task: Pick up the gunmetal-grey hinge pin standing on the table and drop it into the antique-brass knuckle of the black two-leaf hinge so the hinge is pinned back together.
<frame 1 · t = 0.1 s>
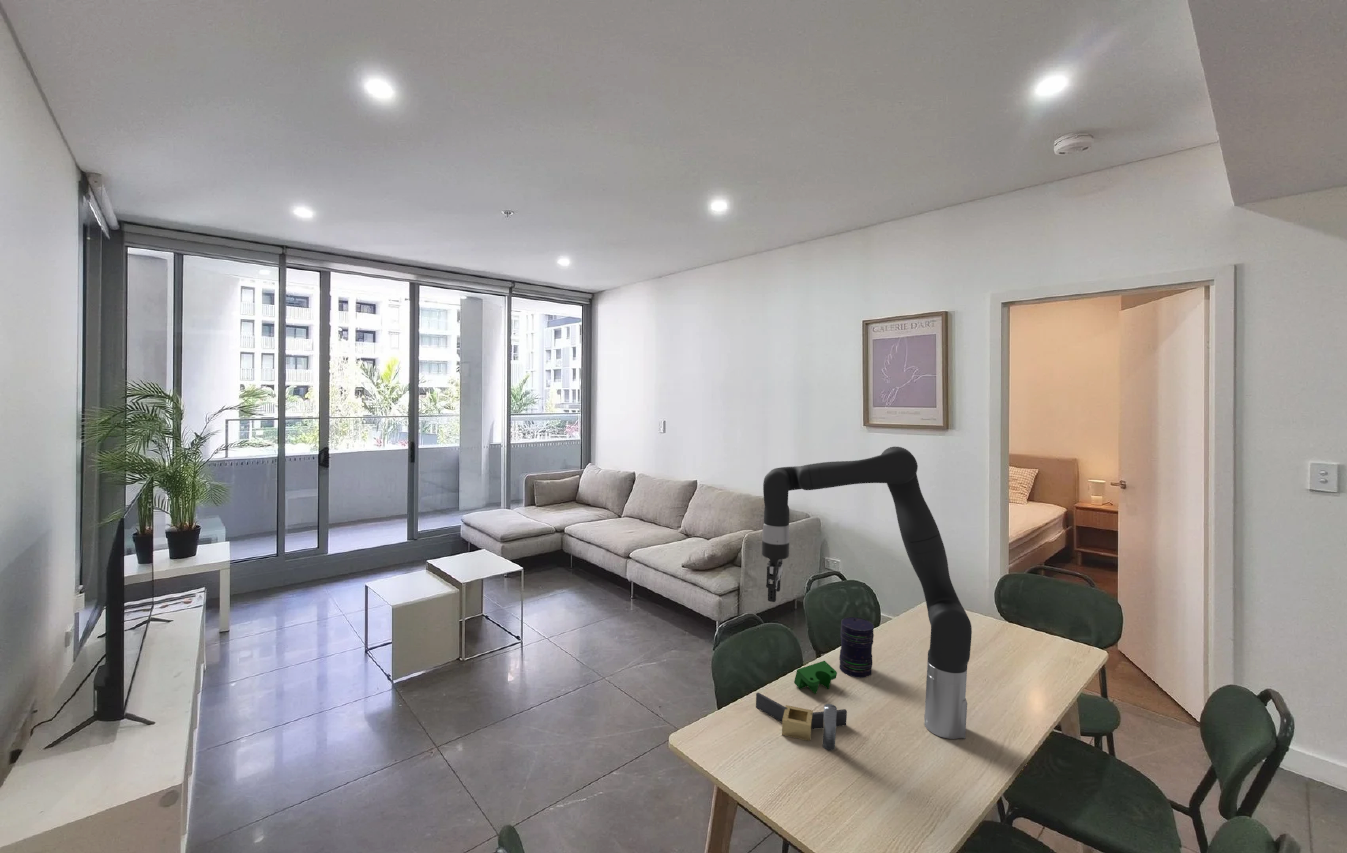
hand: (774, 595, 156), 29 cm above the table, fingers open, 8 cm apart
storage jar: (855, 670, 173), on the table
clamp: (815, 688, 162), on the table
hinge: (797, 729, 142), on the table
hinge pin: (828, 746, 135), on the table
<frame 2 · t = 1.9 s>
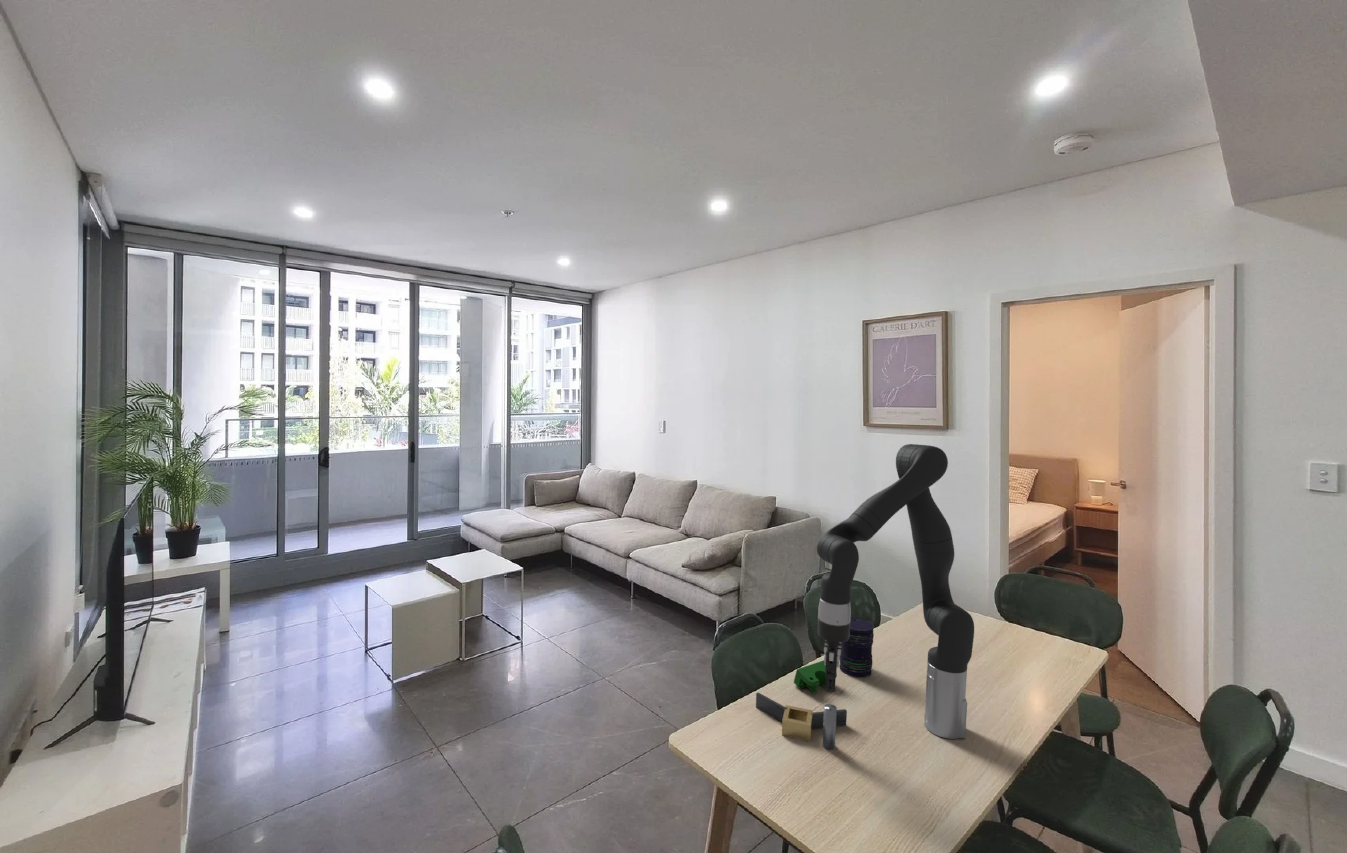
hand: (830, 682, 134), 16 cm above the table, fingers open, 8 cm apart
nothing on the table moved.
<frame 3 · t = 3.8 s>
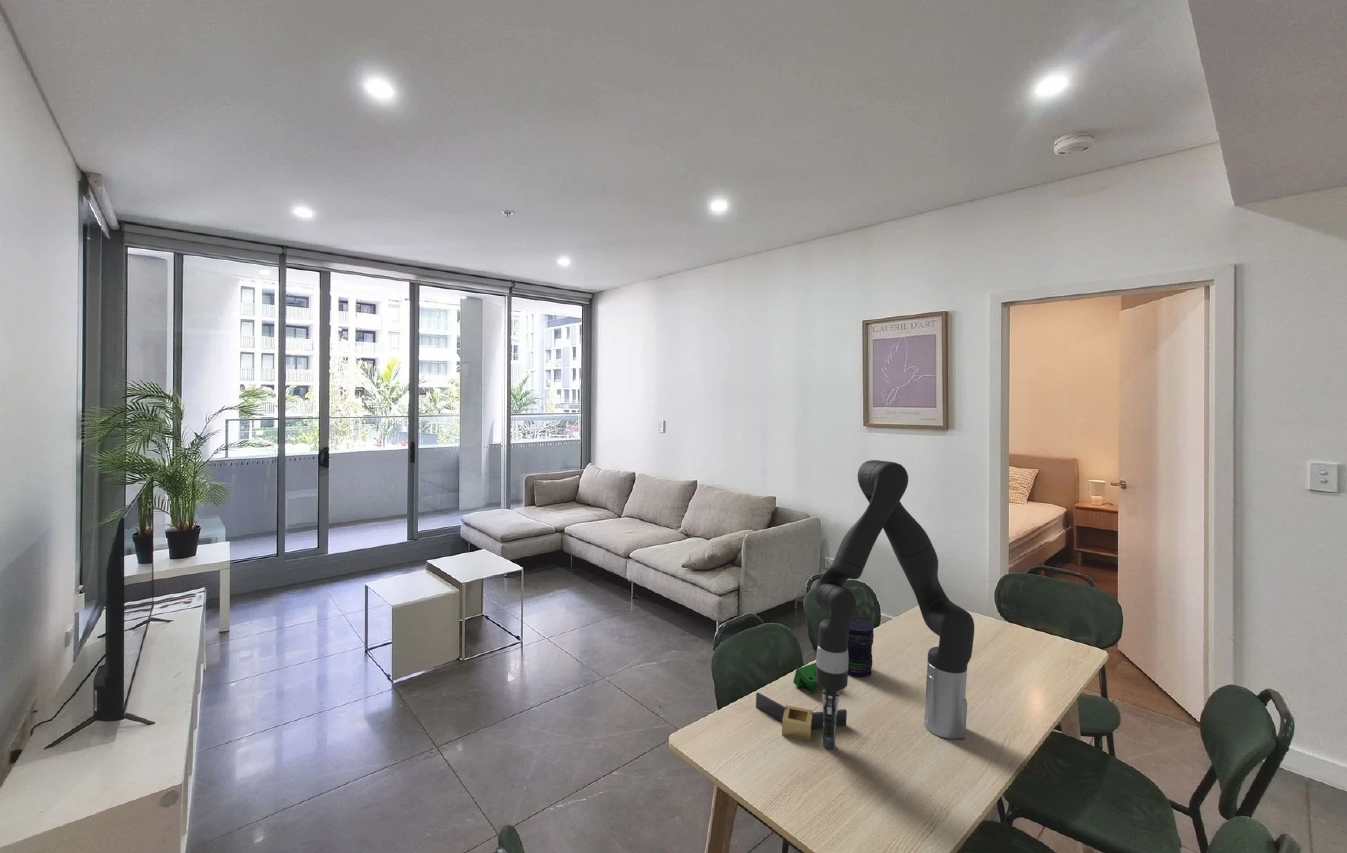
hand: (829, 732, 135), 4 cm above the table, fingers closed on hinge pin, 3 cm apart
hinge pin: (828, 746, 135), on the table, touching gripper
everything else where it was.
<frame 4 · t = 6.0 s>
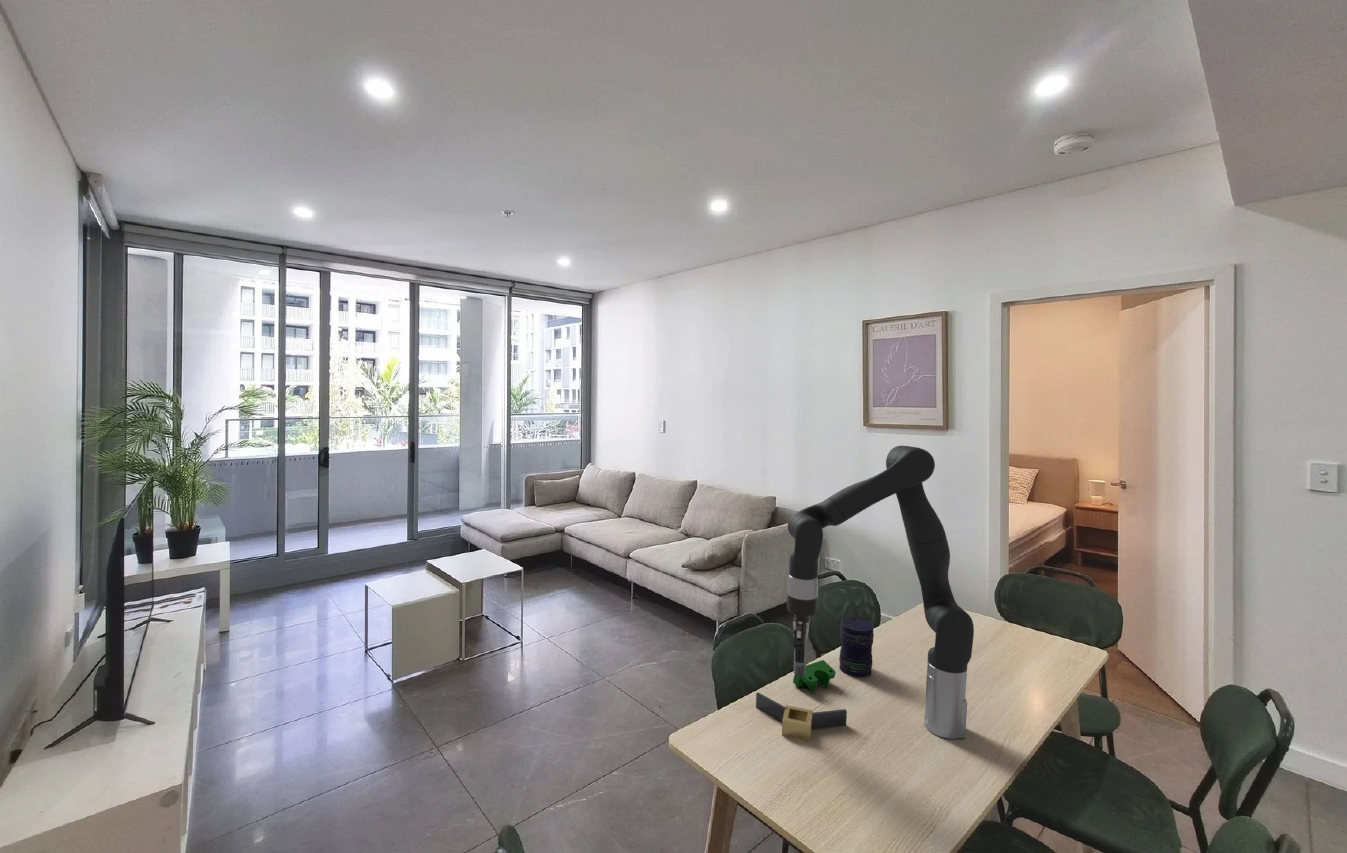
hand: (800, 658, 140), 19 cm above the table, fingers closed on hinge pin, 3 cm apart
hinge pin: (799, 672, 141), point 15 cm above the table, touching gripper
everything else where it was.
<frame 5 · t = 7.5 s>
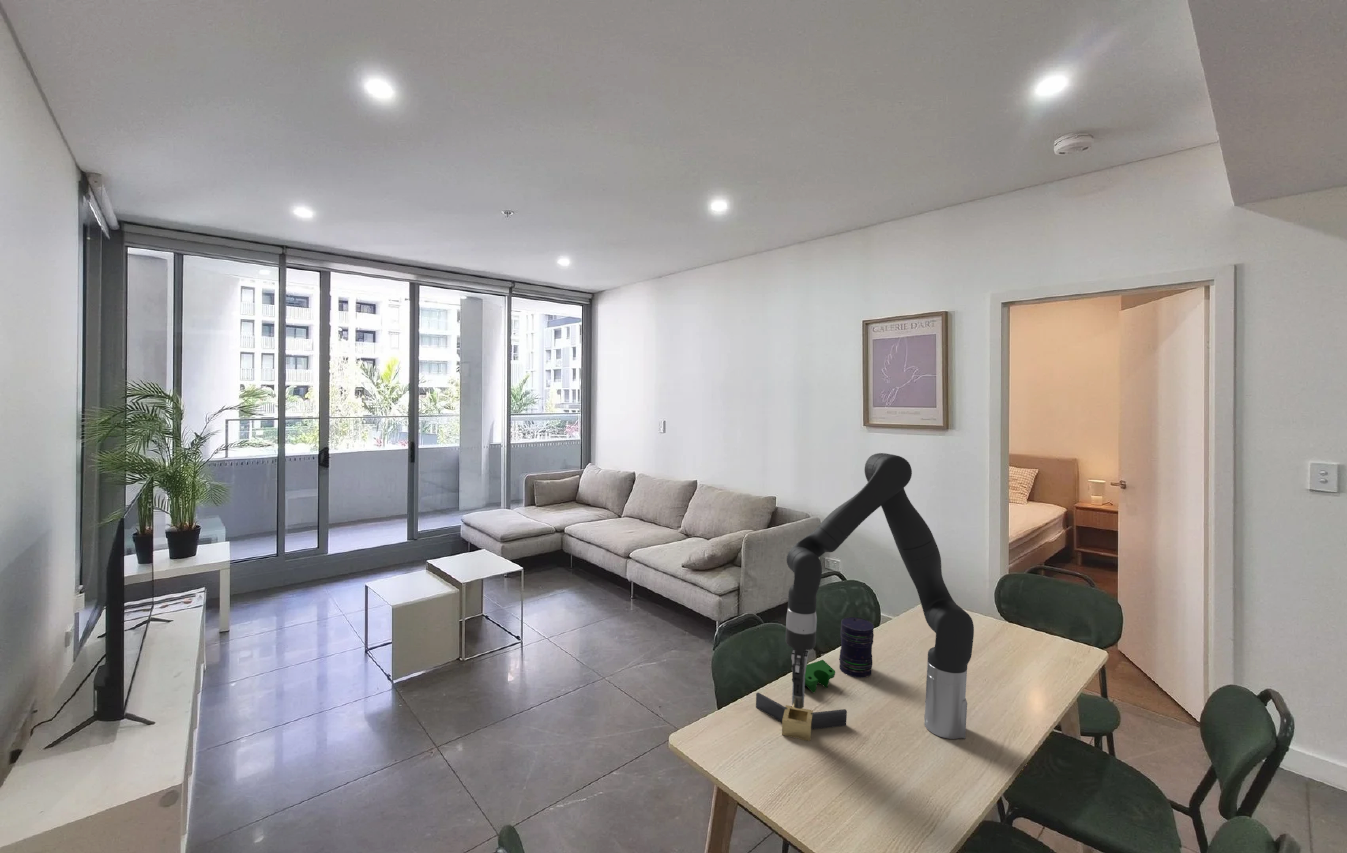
hand: (798, 691, 141), 10 cm above the table, fingers closed on hinge pin, 3 cm apart
hinge pin: (797, 705, 141), point 7 cm above the table, touching gripper
everything else where it was.
when the fingers open (6 cm above the table, at t = 8.7 s): hinge pin drops 2 cm, resting in hinge.
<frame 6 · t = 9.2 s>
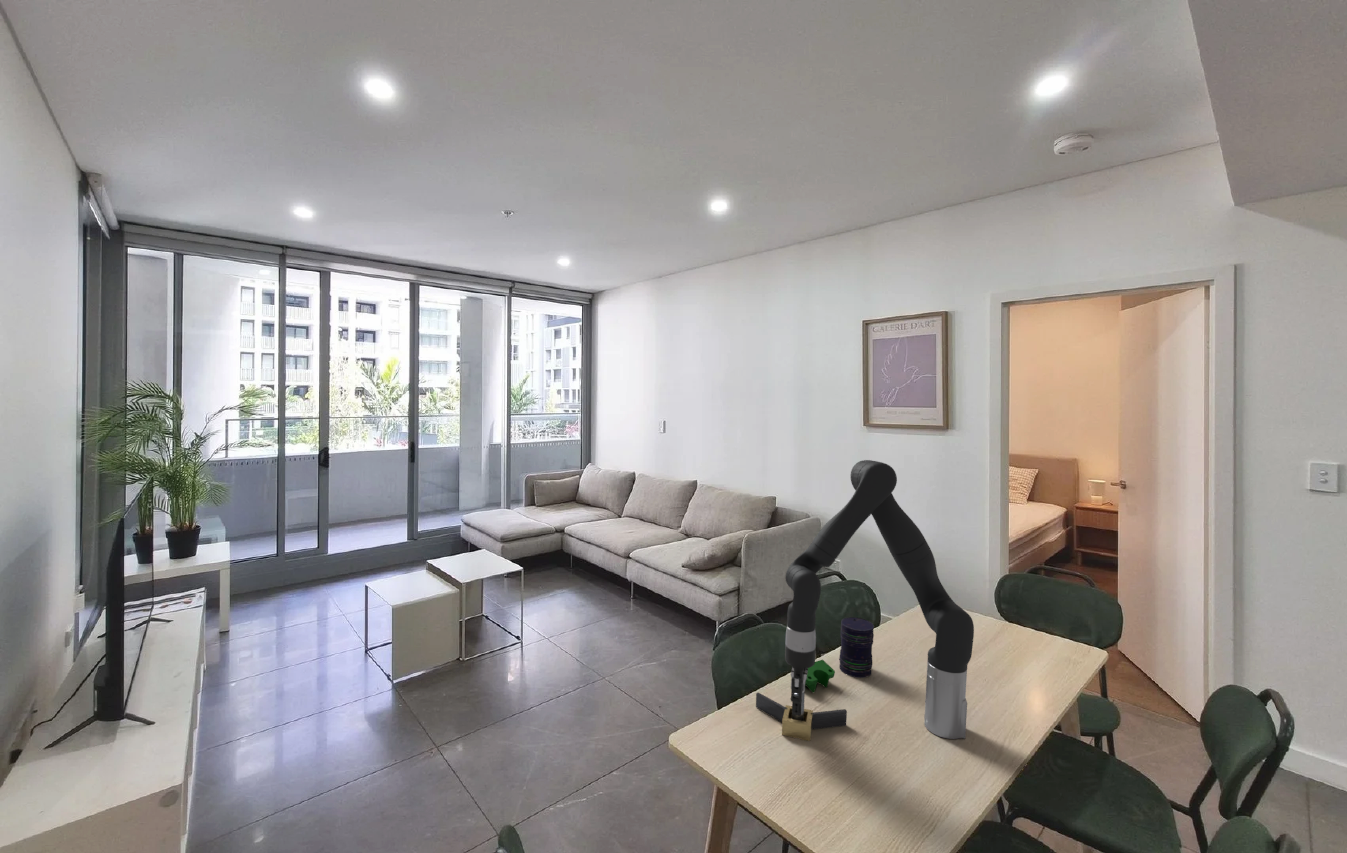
hand: (798, 705, 141), 7 cm above the table, fingers open, 8 cm apart
hinge pin: (797, 730, 142), resting in hinge
everything else where it was.
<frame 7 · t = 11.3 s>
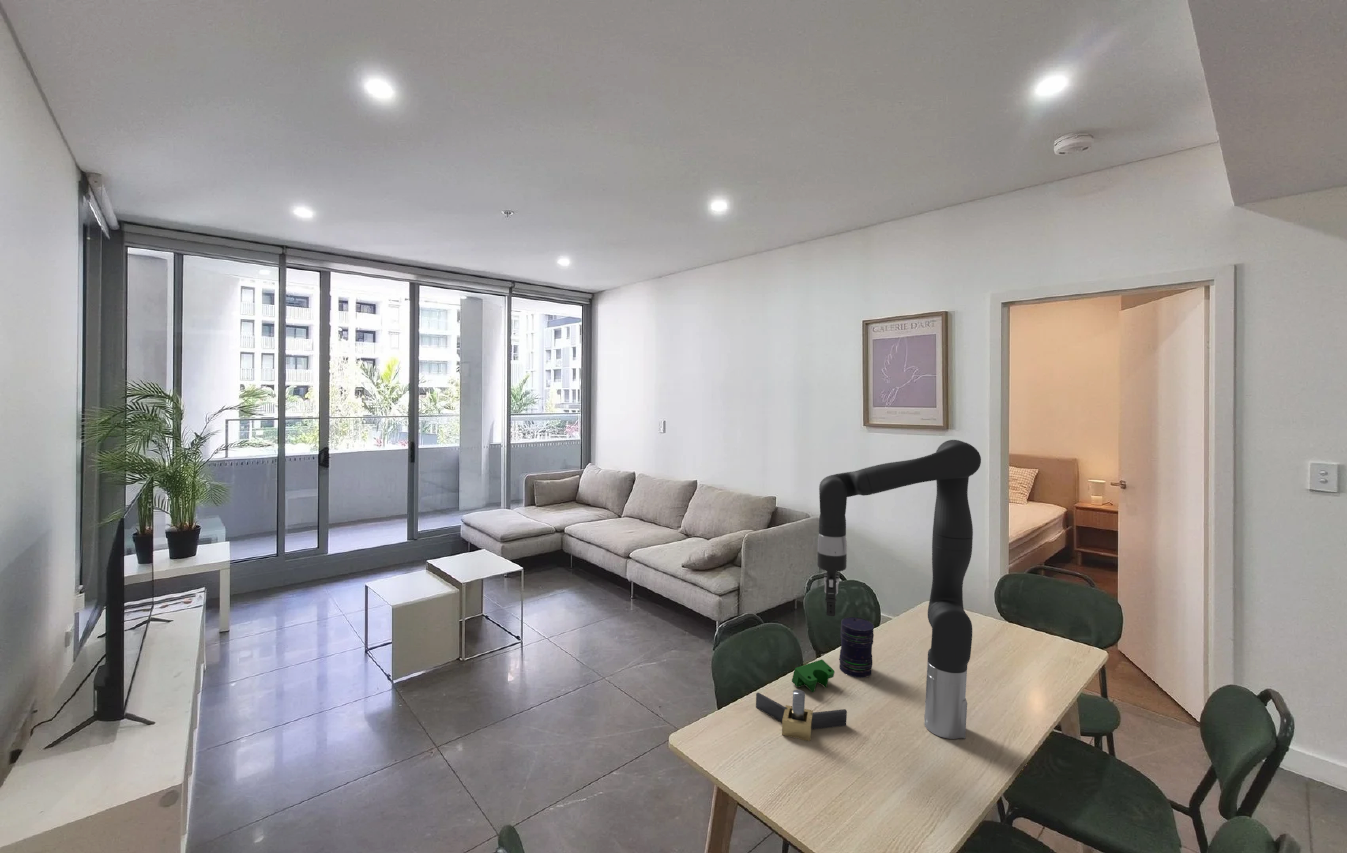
hand: (831, 609, 149), 28 cm above the table, fingers open, 8 cm apart
nothing on the table moved.
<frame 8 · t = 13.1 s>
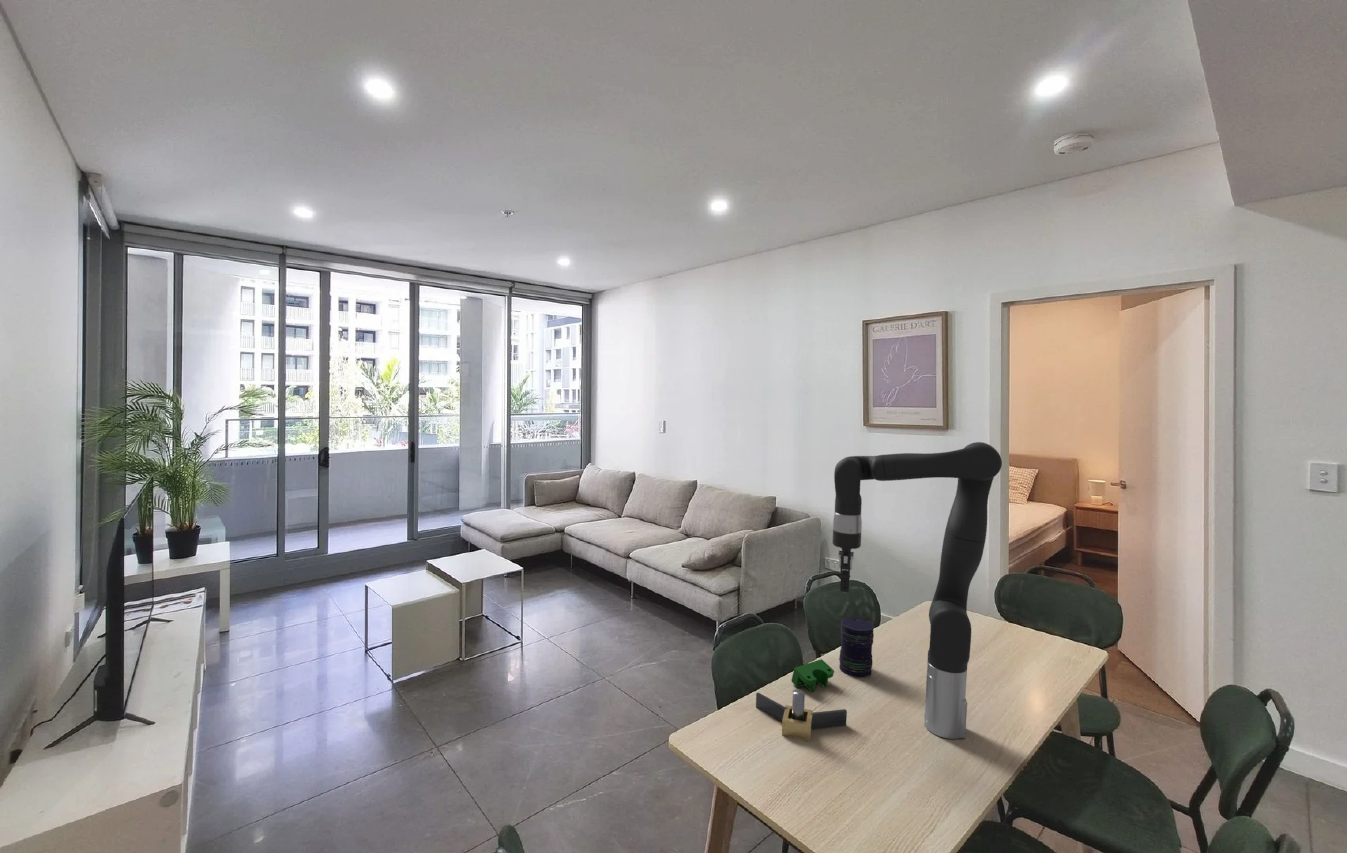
hand: (844, 586, 153), 33 cm above the table, fingers open, 8 cm apart
at the end: hinge pin 0.1 cm off-centre on the hinge, point 0.0 cm above the hinge's base; hinge pin tilted 1°; the gripper is holding nothing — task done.
